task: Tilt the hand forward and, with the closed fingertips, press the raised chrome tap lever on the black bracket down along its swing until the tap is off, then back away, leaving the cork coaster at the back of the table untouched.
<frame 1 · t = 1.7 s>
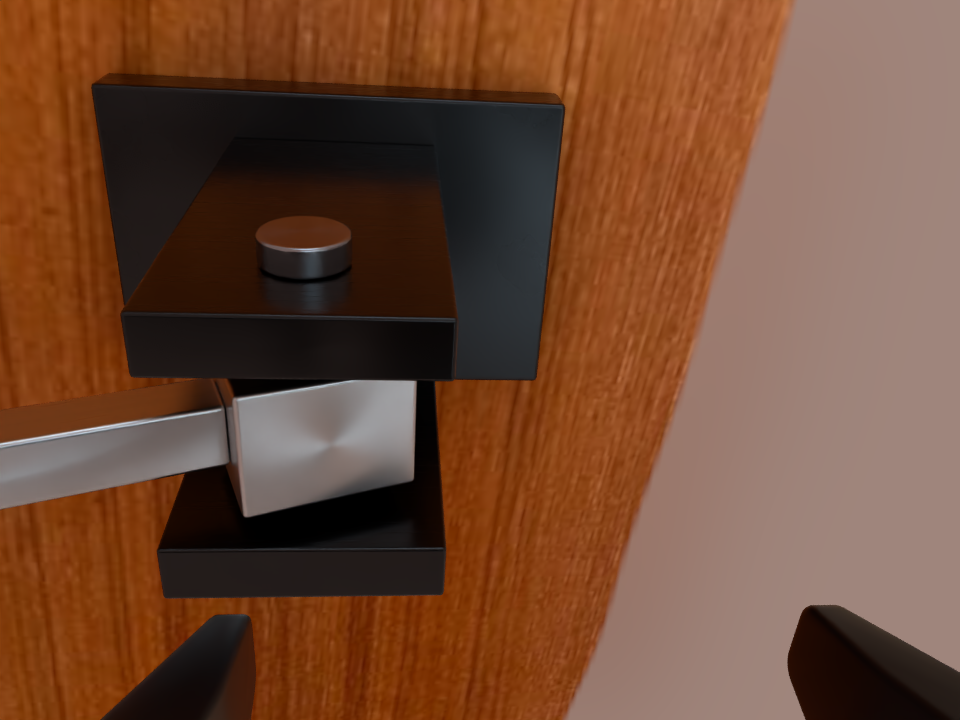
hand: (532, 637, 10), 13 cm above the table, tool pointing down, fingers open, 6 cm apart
lever: (27, 454, 13), point 9 cm above the table, hinge at 20.0°
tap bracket: (340, 230, 21), on the table
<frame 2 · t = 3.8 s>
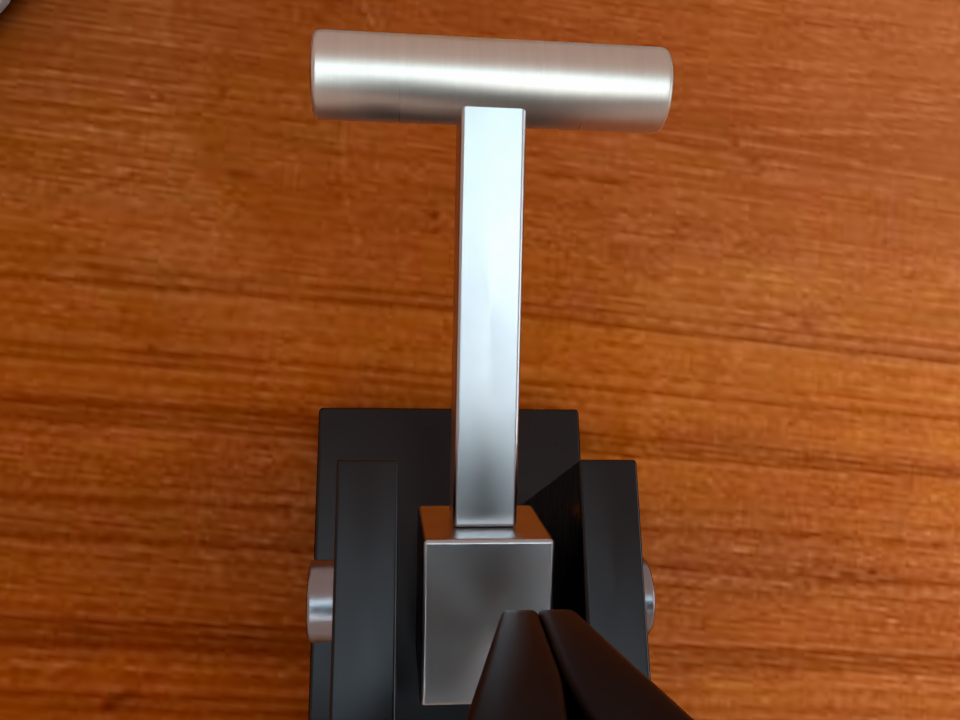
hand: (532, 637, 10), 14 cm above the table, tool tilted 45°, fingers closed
lever: (485, 365, 15), point 9 cm above the table, hinge at 20.0°
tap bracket: (449, 601, 23), on the table
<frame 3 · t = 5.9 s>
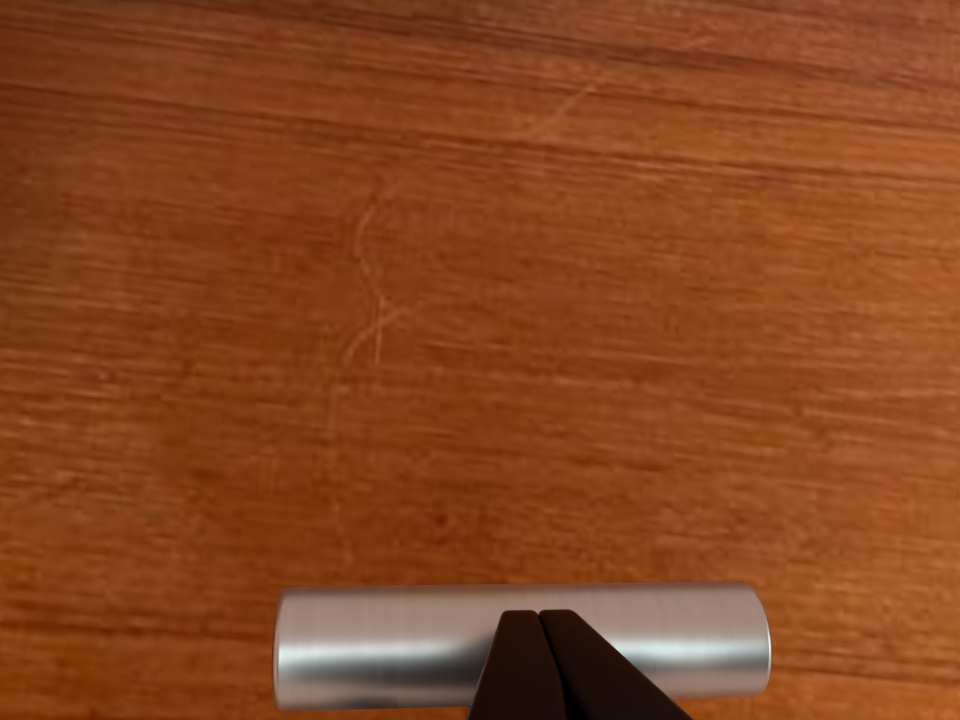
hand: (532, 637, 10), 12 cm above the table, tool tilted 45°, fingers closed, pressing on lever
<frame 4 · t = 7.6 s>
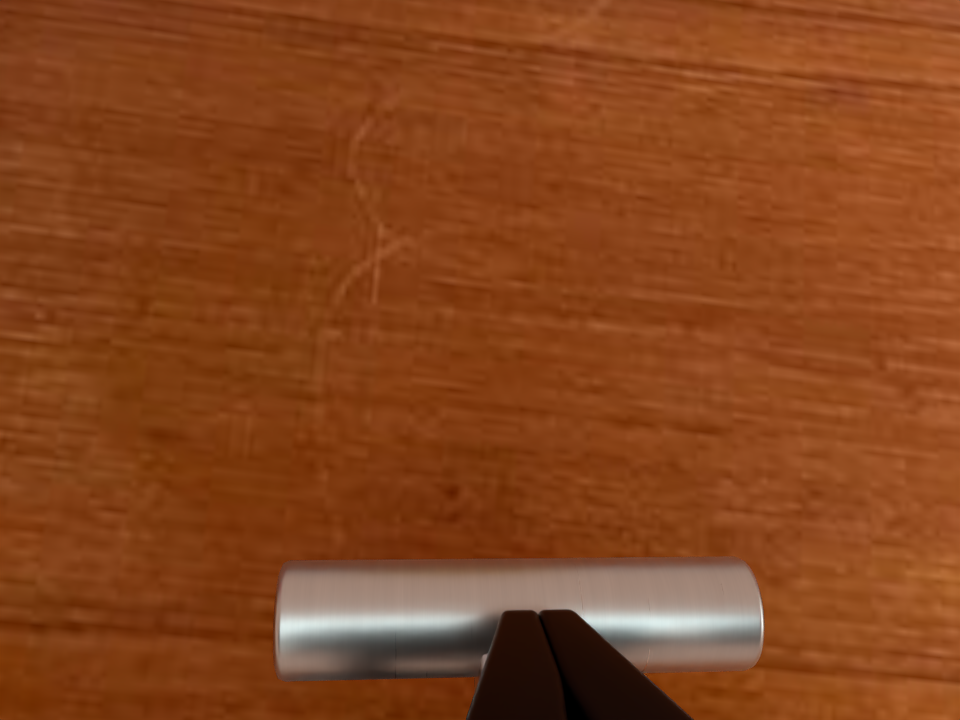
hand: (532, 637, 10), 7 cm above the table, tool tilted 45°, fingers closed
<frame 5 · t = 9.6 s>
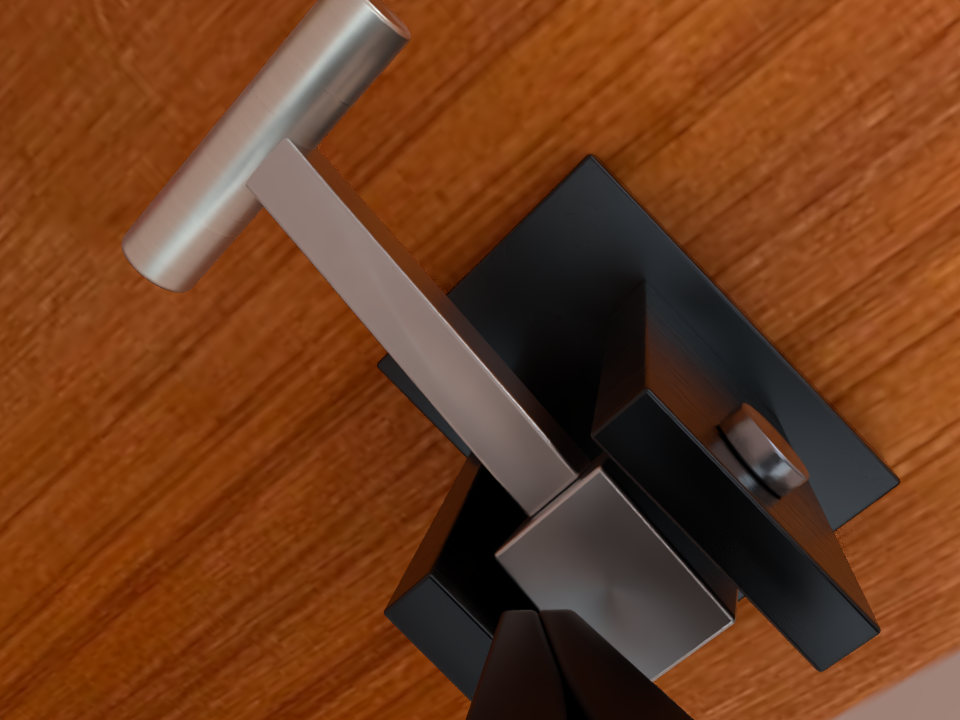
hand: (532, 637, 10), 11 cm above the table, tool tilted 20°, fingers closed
lever: (447, 358, 14), point 7 cm above the table, hinge at -10.9°
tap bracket: (629, 406, 21), on the table
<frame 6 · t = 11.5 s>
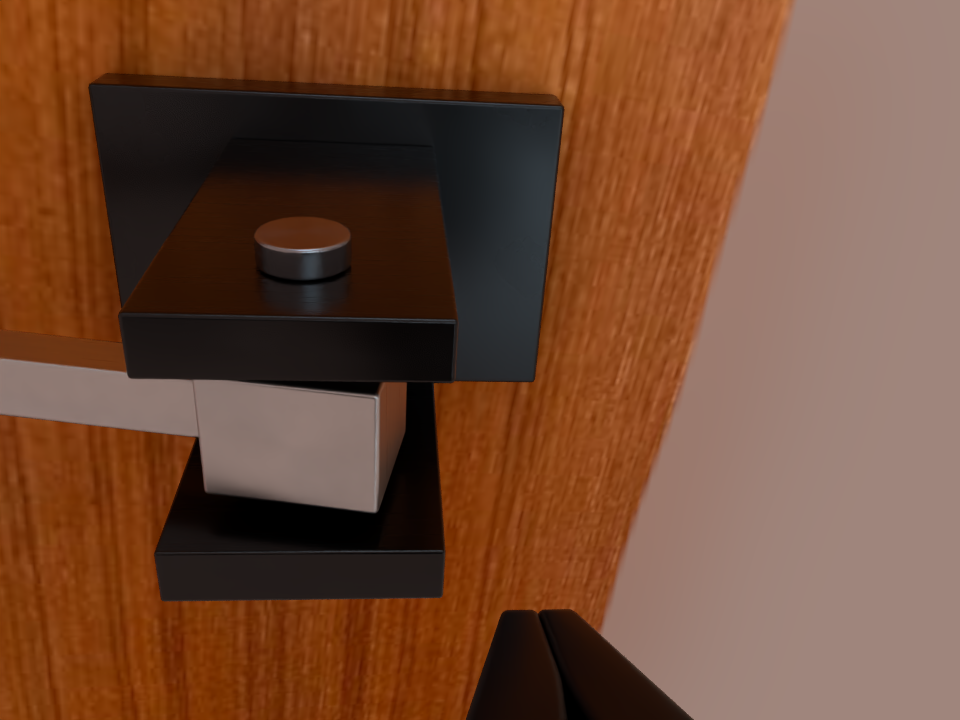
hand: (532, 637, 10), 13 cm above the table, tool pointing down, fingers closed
lever: (62, 378, 14), point 7 cm above the table, hinge at -10.9°
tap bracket: (338, 231, 21), on the table
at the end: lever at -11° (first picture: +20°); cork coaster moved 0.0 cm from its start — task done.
